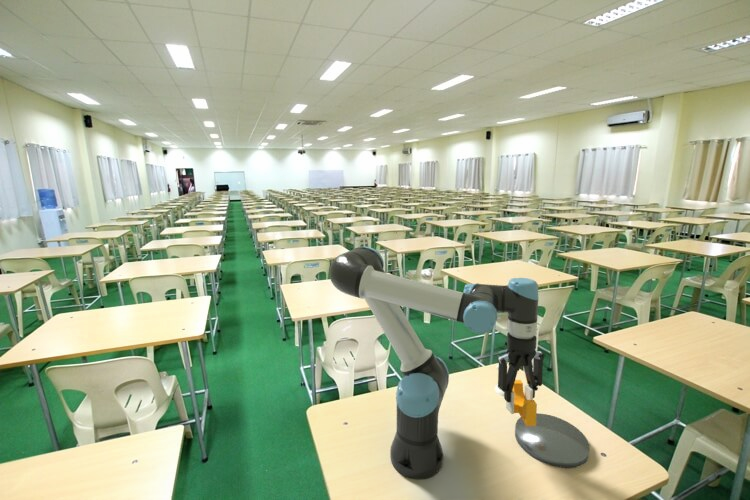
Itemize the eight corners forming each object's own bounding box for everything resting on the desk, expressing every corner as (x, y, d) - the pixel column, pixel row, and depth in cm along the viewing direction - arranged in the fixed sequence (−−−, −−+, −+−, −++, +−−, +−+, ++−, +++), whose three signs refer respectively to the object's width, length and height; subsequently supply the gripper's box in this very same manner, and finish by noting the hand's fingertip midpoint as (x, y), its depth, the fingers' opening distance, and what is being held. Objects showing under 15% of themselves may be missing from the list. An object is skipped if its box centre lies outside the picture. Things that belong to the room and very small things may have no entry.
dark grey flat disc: (544, 474, 93) (544, 466, 92) (502, 425, 112) (502, 418, 112) (605, 461, 97) (606, 453, 96) (555, 416, 116) (555, 409, 116)
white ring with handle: (484, 368, 137) (500, 360, 135) (501, 396, 135) (517, 389, 133) (483, 373, 131) (500, 365, 128) (500, 403, 128) (518, 396, 126)
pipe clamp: (505, 399, 104) (505, 380, 103) (519, 399, 104) (520, 379, 103) (519, 426, 92) (520, 404, 91) (536, 426, 92) (536, 404, 91)
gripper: (499, 343, 90) (497, 422, 94) (560, 335, 93) (555, 412, 97) (485, 332, 97) (483, 406, 101) (542, 325, 100) (538, 397, 104)
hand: (519, 409), depth 99 cm, fingers closed on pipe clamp, 5 cm apart
